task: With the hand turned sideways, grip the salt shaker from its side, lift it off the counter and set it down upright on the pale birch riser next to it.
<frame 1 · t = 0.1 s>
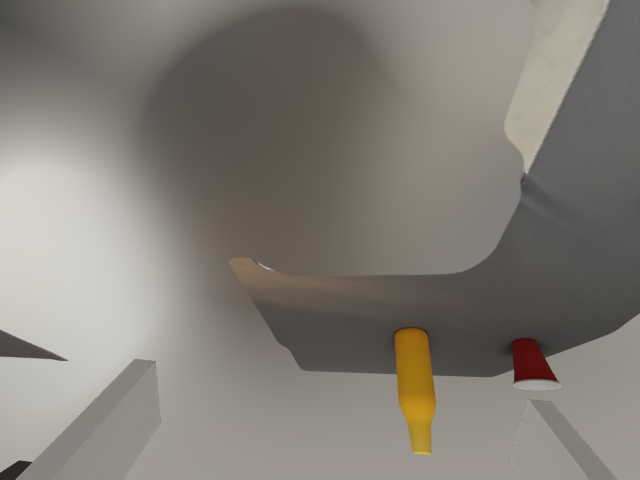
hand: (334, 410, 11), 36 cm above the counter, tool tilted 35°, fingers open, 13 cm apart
plastic cup: (522, 341, 89), on the counter
beer bottle: (410, 332, 91), on the counter
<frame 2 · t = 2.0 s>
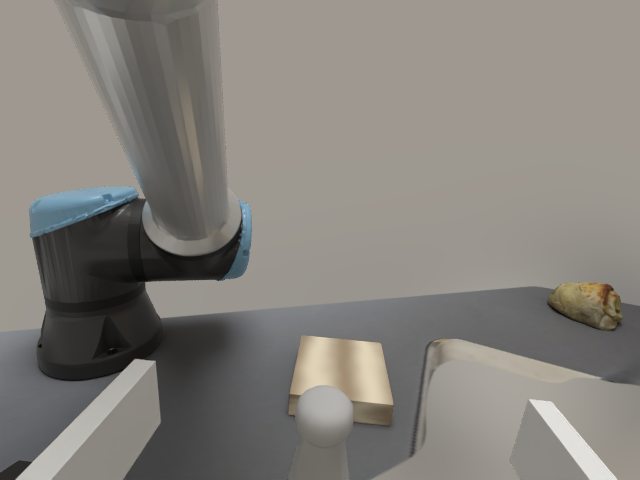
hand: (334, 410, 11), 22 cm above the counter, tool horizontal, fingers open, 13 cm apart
pastry: (580, 314, 69), on the counter
birch riser: (339, 383, 43), on the counter
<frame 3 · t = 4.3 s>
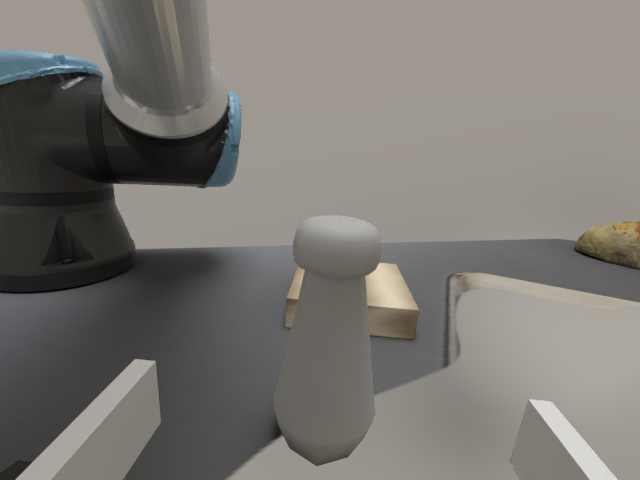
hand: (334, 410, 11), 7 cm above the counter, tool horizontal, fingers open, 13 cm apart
pastry: (613, 259, 62), on the counter
salt shaker: (321, 435, 19), on the counter
birch riser: (347, 303, 35), on the counter
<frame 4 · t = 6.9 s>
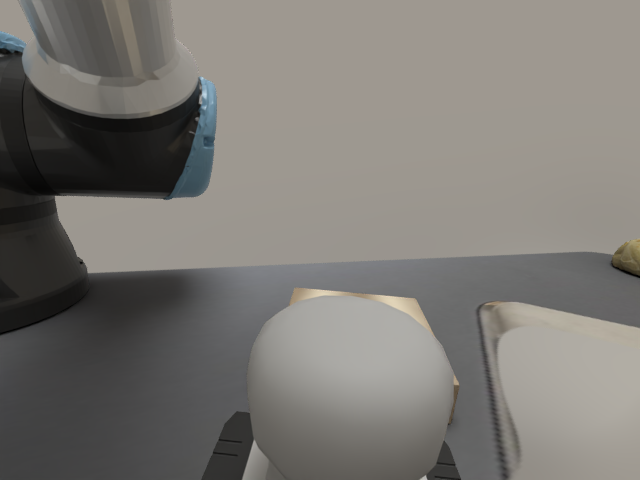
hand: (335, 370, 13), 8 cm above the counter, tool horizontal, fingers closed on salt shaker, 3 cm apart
birch riser: (354, 356, 26), on the counter
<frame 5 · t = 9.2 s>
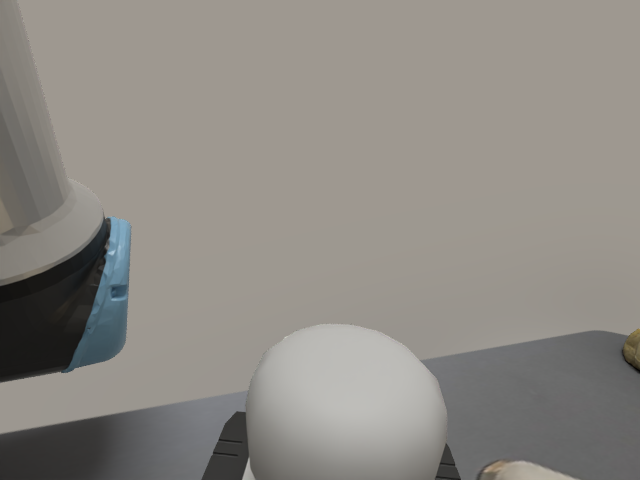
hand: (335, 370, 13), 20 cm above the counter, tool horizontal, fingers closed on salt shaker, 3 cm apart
when the fingers open (12 cm above the counter, at t = 11.7 s): salt shaker stays where it is, resting on birch riser.
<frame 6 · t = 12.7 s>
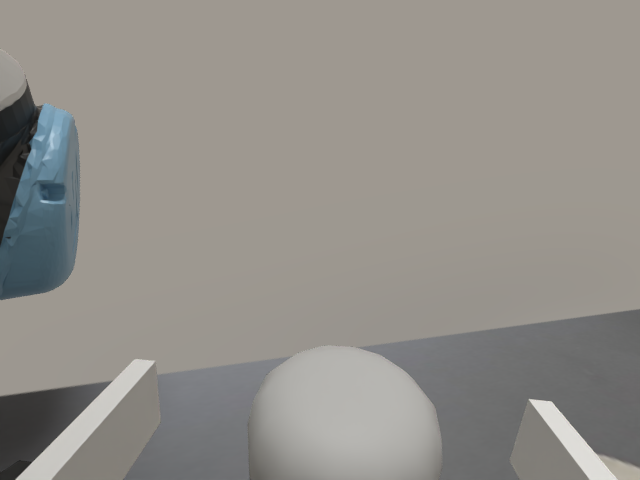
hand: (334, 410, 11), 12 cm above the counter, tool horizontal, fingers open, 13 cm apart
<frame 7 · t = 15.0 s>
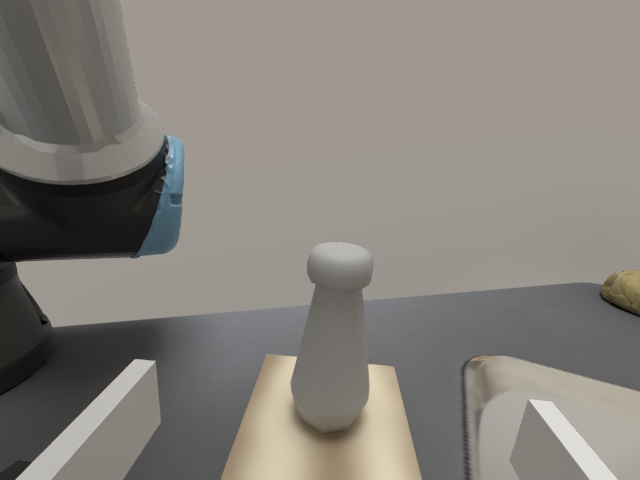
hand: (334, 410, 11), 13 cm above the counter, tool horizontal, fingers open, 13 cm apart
salt shaker: (327, 412, 24), point 3 cm above the counter, touching birch riser
birch riser: (324, 441, 25), on the counter
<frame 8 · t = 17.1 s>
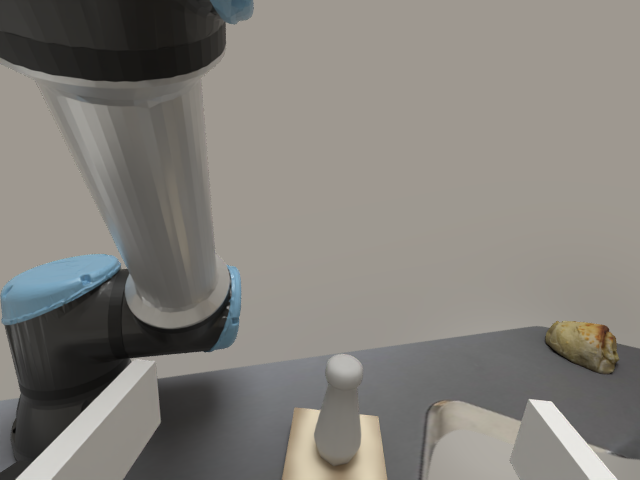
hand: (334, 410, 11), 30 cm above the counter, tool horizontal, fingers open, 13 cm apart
pastry: (577, 354, 70), on the counter
salt shaker: (335, 451, 39), point 3 cm above the counter, touching birch riser
birch riser: (333, 468, 40), on the counter
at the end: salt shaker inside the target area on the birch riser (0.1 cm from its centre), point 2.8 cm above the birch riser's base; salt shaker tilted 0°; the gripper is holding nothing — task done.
